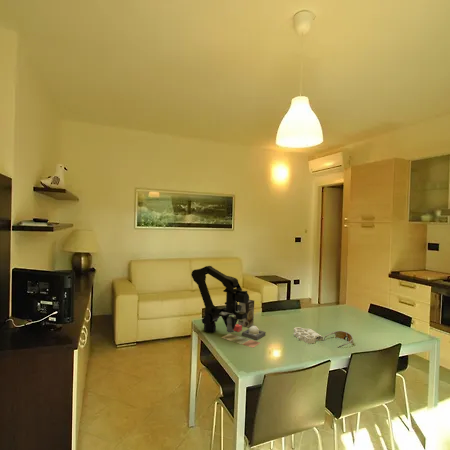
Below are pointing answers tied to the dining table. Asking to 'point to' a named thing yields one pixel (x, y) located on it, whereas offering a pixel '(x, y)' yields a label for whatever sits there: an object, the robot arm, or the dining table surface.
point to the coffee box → (250, 314)
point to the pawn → (229, 324)
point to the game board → (241, 340)
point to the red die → (238, 327)
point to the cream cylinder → (254, 330)
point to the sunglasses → (342, 336)
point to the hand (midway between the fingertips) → (230, 327)
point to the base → (255, 337)
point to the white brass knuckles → (307, 335)
